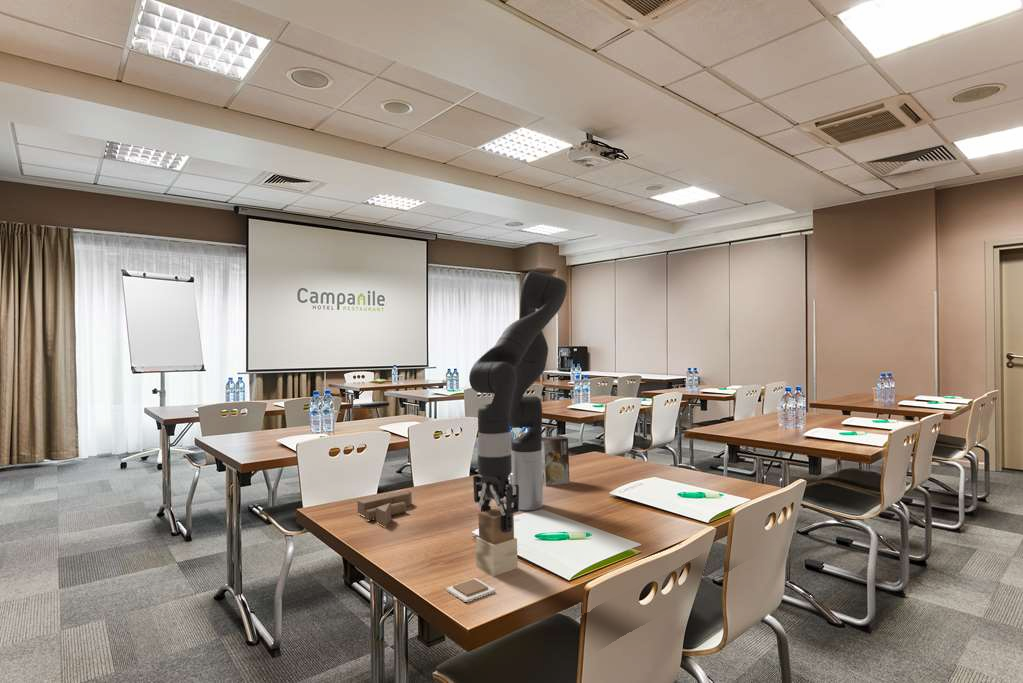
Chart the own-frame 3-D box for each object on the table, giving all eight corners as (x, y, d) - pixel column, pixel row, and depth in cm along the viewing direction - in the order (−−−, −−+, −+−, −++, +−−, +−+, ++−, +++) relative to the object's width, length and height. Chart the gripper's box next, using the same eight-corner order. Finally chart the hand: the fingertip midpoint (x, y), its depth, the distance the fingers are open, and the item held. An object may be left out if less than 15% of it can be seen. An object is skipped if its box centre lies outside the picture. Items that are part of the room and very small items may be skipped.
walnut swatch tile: (446, 590, 107) (446, 585, 107) (475, 580, 111) (475, 575, 111) (465, 603, 102) (465, 598, 102) (495, 592, 106) (495, 587, 106)
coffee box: (563, 479, 194) (562, 435, 194) (570, 484, 188) (569, 438, 188) (539, 482, 192) (538, 437, 192) (545, 486, 186) (544, 439, 186)
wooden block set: (354, 497, 158) (407, 486, 170) (354, 516, 158) (408, 504, 170) (381, 509, 145) (437, 496, 157) (381, 530, 145) (437, 515, 157)
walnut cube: (479, 537, 118) (478, 512, 119) (498, 531, 122) (498, 507, 122) (493, 544, 114) (493, 518, 114) (514, 538, 118) (513, 513, 118)
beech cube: (476, 567, 119) (475, 537, 119) (499, 559, 123) (499, 530, 123) (493, 576, 113) (493, 545, 114) (517, 568, 117) (517, 538, 118)
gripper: (528, 454, 115) (530, 531, 115) (489, 445, 126) (490, 516, 126) (500, 459, 110) (502, 540, 110) (462, 450, 122) (463, 523, 121)
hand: (496, 527), depth 118 cm, fingers open, 7 cm apart
